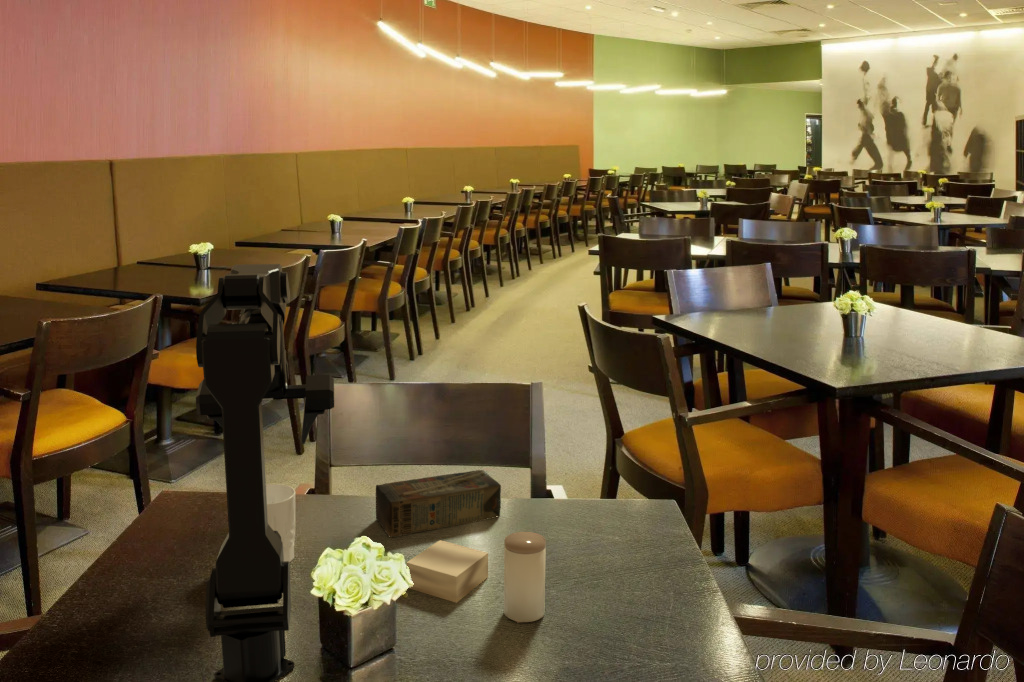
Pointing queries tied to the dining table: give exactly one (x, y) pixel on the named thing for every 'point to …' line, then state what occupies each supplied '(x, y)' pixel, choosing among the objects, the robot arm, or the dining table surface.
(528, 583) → the jar
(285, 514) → the white cup
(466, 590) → the maple block
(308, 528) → the dining table surface
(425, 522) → the beverage carton
